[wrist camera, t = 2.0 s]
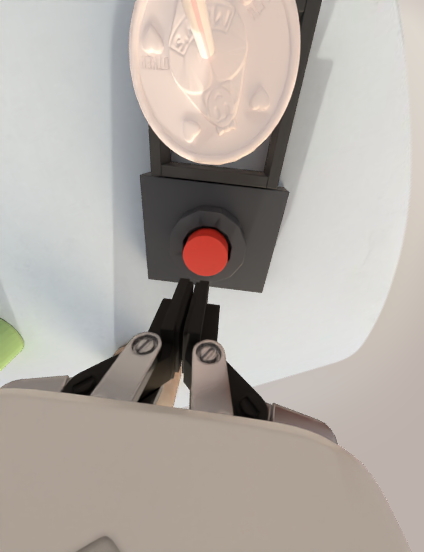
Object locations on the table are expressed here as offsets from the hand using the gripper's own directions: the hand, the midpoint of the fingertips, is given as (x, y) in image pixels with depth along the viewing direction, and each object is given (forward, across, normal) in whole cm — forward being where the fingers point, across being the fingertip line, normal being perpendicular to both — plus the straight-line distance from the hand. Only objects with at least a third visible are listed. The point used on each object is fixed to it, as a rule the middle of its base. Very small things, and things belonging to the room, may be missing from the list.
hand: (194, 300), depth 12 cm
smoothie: (+11, 0, -10) cm, 15 cm away
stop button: (+7, 0, 0) cm, 7 cm away
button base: (+11, 0, 0) cm, 11 cm away
